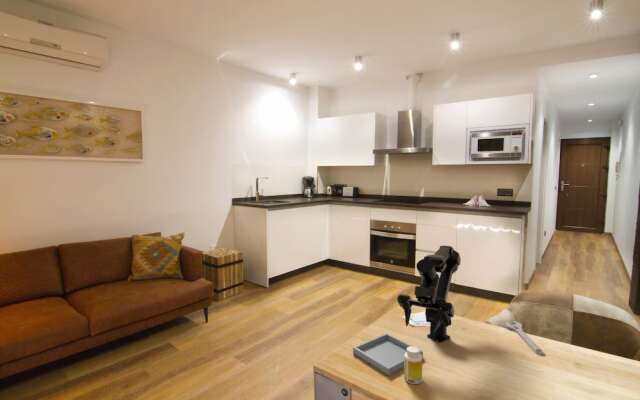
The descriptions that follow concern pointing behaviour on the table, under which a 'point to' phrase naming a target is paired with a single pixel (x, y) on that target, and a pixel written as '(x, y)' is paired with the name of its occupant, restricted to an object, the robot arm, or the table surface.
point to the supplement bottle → (413, 365)
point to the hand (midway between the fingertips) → (420, 328)
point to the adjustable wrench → (524, 336)
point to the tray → (383, 353)
